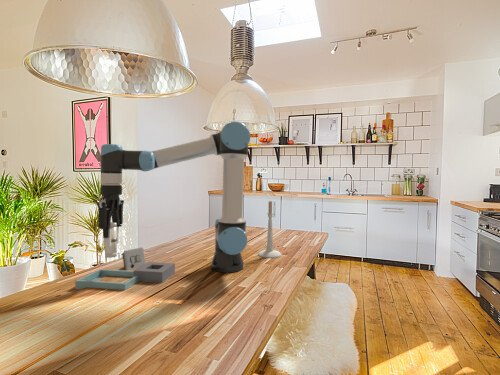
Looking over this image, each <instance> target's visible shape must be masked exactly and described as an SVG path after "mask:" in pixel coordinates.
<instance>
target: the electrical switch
mask: <svg viewBox="0 0 500 375" xmlns="http://www.w3.org/2000/svg"><path fill="white" fill-rule="evenodd" d="M121 256H122V261H123V268H124V269H125V271H131V270H132V269H137V268H139V267H141V266H143V265H144V264H146V263H147V262H146V257H145V251H144V247H137V248H132V249H128V250H124V251H123V252H122V255H121Z"/></svg>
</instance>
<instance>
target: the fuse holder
mask: <svg viewBox="0 0 500 375" xmlns="http://www.w3.org/2000/svg"><path fill="white" fill-rule="evenodd" d="M133 271H134V277H135V276H138V282H145V283H146V282H147V283H160V284H161V283H165V282H166V280H168V279H169V278H170V277H172V276H173V275H174V274H176V263H175V262H174V263H173V262H172V263H171V262H157V261H156V262H155V261H154V262H153V261H148V262H146V264H144V265H143V266H141V267H137V268H135V269H134V270H133Z"/></svg>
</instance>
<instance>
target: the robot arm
mask: <svg viewBox="0 0 500 375" xmlns="http://www.w3.org/2000/svg"><path fill="white" fill-rule="evenodd" d="M250 142H251V131H250V128H248V126H247V124H246V125H245V123H243V122H241V121H231V122H228V123H225V124H224V126H222V129H221V131H219V132H216V133H213V134H211V135H210V136H209V137H207V138H202V139H199V140H198V139H197V140H194V141H190V142H186V143H182V144H177V145H173V146H170V147H165V148H160V149H157V150H153V151H149V150H127V149H126V150H125V149H123V146H122V145H120V144H114V143H113V144H112V143H104V144H102V145H101V146H100V155H99V157H100V184H101V185H100V188H99V189H100V191H99V192H100V195H101V196H102V201H98V202H97V203H96V205H97V208H98V213H97V214H98V215H97V216H98V228H99V229H100V230H102V237H103V240H102V241H103V245H102V246H103V247H105V246H111V229H110V222H116V223H117V244H119V242H120V241H119V238H120V236H119V234H120V227H122V225H123V223H124V222H123V219H124V218H123V217H124V214H123V213H124V203H125V200H123V199H121V198H120V195H121V196H122V194H123V186H122V184H123V170H125V171H126V170H130V171H140V172H150V171H152V170H155V169H158V168H162V167H165V166H170V165H176V164H178V163H182V162H186V161H190V160H194V159H198V158H203V157H206V156H211V155H215V156H220V157H221V158H222V160H223V164H222V166H223V167H222V170H223V171H222V196H221V197H222V201H221V202H222V204H221V205H222V206H221V207H222V208H221V217H220V218H217V219H216V220H215V222H214V227H215V228H214V230H215V231H214V232H215V233H214V235H215V236H214V238H215V240H214V254H213V257H212V259H211V262H210V263H211V264H210V266H211V270H212V271H214V272H219V273H233V272H234V273H235V272H239V271H241V270H243V269H244V268H245V267H244V266H245V264H244V260H243V256H242V253H241V252H243V251H244V250H245V249H246V247H247V245H248V234H247V232H246V230H247V228H246V227H247V220H246V219H245V218H244V217H243V214H244V213H243V207H244V206H243V205H244V202H243V201H244V176H245V174H244V173H245V172H244V168H245V159H246V158H248V156H249V145H250Z"/></svg>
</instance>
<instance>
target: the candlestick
mask: <svg viewBox="0 0 500 375" xmlns="http://www.w3.org/2000/svg"><path fill="white" fill-rule="evenodd" d="M267 211H268V213H266V214H267V218H268V223H267V235H266V249H263V250H260V251H259V252H258V254H257V255H258V256H259V257H261V258H264V259H278V258H280V257H282V253H281V252H280V251H279V250H275V249H274V242H273V241H274V240H273V219H272V218H273V216H274V213H273V201H271V200H270V201H268V210H267Z"/></svg>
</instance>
